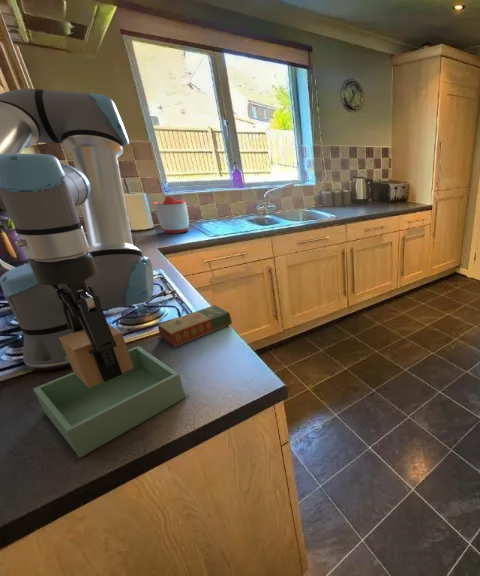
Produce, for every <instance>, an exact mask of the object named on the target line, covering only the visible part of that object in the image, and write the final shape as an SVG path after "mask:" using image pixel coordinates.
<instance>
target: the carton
mask: <svg viewBox="0 0 480 576" xmlns="http://www.w3.org/2000/svg"><path fill="white" fill-rule="evenodd" d="M232 323H233V321H232V317H231V314H230V312H229V311H228V310H225V309H223V308H221V307H220V306H217V305H216V304H214V305H211V306H207V307H205V308H202V309H200V310H196V311H194V312H190V313H187V314H185V315H181V316H179V317H176V318H174V319H170V320H167V321H165V322H162V323H159V324H157V329H158V331H159V332H158V333H159V336H160V338H162V339H163V340H164V341H166V342H167V343H168V344H170V345H171V346H172V347H174V348H176V347H178V346H180V345H183V344H185V343H188V342H190V341H192V340H193V341H194V340H195V339H198V338H200V337H203V336H205V335H207V334H210V333H212V332H216V331H219V330H221V329H223V328H226V327H228V326H230V325H232Z"/></svg>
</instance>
